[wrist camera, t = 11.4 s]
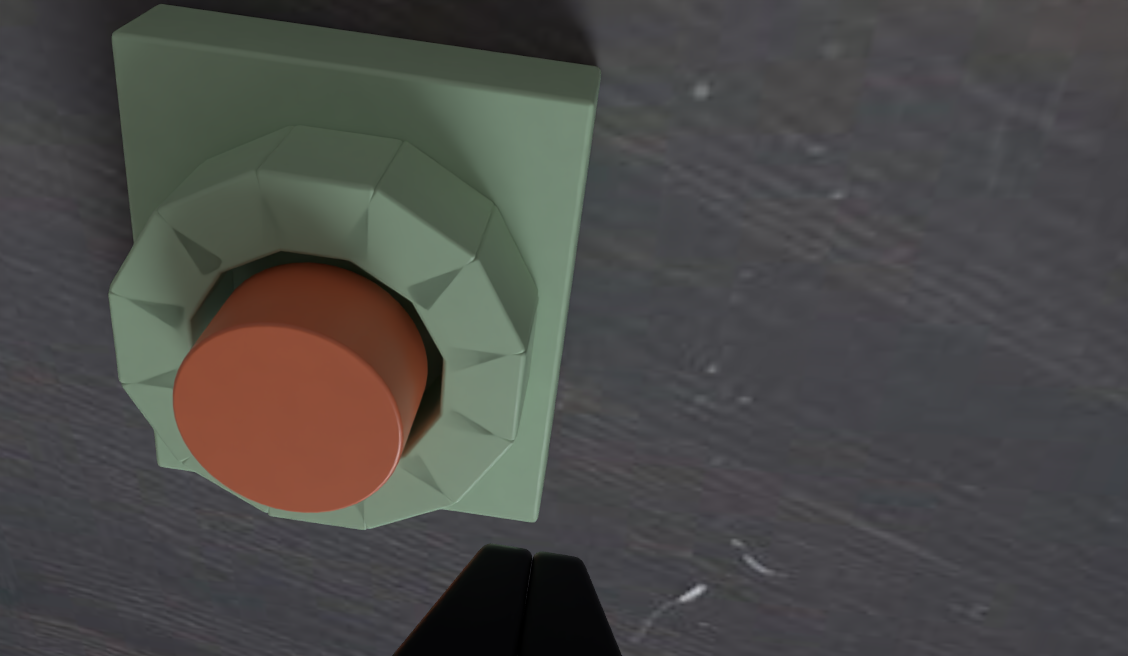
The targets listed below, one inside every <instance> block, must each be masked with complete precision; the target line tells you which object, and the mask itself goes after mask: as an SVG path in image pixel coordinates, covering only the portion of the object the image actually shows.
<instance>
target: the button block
mask: <svg viewBox="0 0 1128 656" xmlns="http://www.w3.org/2000/svg"><path fill="white" fill-rule="evenodd" d="M112 46H113V55H114V64H115V74H116V83H117V92H118V101H119V111H120V120H121V129H122V138H123V148H124V157H125V166H126V176H127V185H128V194H129V203H130V213H131V222H132V231H133V241H134V245H133V247H132V249H131V250H130V252H129V254H128V255H127V257H126V259H125V261H124V262H123V264H122V266H121V267H120V269H119V271H118V272H117V274H116V276H115V278H114V279H113V281H112V283H111V284H110V290H109V293H108V296H109V304H110V312H111V320H112V328H113V336H114V344H115V352H116V360H117V368H118V376H119V381H120V382H122V387H123V388H124V390H125V391H126V392H127V394H128V395H129V396H130V398H131V399H132V400H133V402H134V403H135V404H136V406H137V407H138V408H139V410H140V411H141V412H142V414H143V415H144V416H145V418H146V419H147V421H148V422H149V423H150V425H151V426H152V427H153V429H154V435H155V445H156V454H157V463H158V465H159V466H161V467H167V468H173V469H180V470H187V471H193V472H196V473H198V474H200V475H201V476H203V477H205V478H206V479H208V480H210V481H212V482H213V483H215V484H217V485H218V486H220V487H222V488H224V489H225V490H227V491H229V492H230V493H232V494H234V495H236V496H237V497H239V498H241V499H242V500H244V501H246V502H248V503H249V504H251V505H253V506H255V507H256V508H258V509H260V510H261V511H263V512H268V514H269V515H270V516H274V517H281V518H287V519H294V520H301V521H307V522H314V523H320V524H327V525H334V526H340V527H347V528H354V529H360V530H366V529H367V528H370V529H371V528H375V527H378V526H382V525H385V524H389V523H392V522H396V521H399V520H403V519H406V518H410V517H413V516H417V515H421V514H424V513H428V512H431V511H435V510H438V509H446V510H453V511H460V512H466V513H473V514H479V515H486V516H493V517H499V518H506V519H513V520H519V521H526V522H535V521H536V520H537V519H538V515H539V509H540V502H541V496H542V490H543V484H544V478H545V472H546V466H547V459H548V452H549V444H550V437H551V430H552V423H553V416H554V408H555V401H556V394H557V387H558V380H559V373H560V365H561V358H562V351H563V344H564V337H565V329H566V322H567V315H568V308H569V301H570V294H571V286H572V279H573V272H574V265H575V258H576V250H577V243H578V236H579V229H580V222H581V215H582V207H583V200H584V193H585V186H586V179H587V171H588V164H589V157H590V150H591V143H592V136H593V128H594V121H595V114H596V107H597V100H598V93H599V85H600V78H601V71H600V69H599V68H598V67H596V66H589V65H583V64H576V63H569V62H562V61H555V60H548V59H541V58H534V57H527V56H520V55H513V54H506V53H499V52H492V51H485V50H478V49H471V48H464V47H457V46H450V45H443V44H436V43H429V42H422V41H416V40H409V39H402V38H395V37H388V36H381V35H374V34H367V33H360V32H353V31H346V30H339V29H332V28H325V27H318V26H311V25H304V24H297V23H290V22H283V21H276V20H269V19H262V18H255V17H249V16H242V15H235V14H228V13H221V12H214V11H207V10H200V9H193V8H186V7H179V6H172V5H165V4H160V5H157V6H155V7H153V8H152V9H150V10H149V11H147V12H145V13H144V14H142V15H140V16H139V17H137V18H135V19H134V20H132V21H131V22H129V23H127V24H126V25H124V26H122V27H121V28H119V29H117V30H116V31H114V32H113V34H112ZM299 262H311V263H323V264H327V265H332V266H337V267H340V268H343V269H346V270H349V271H352V272H354V273H356V274H359V275H361V276H363V277H365V278H367V279H369V280H370V281H372V282H374V283H375V284H377V285H378V286H380V287H381V288H382V289H384V290H385V291H386V292H388V293H389V294H390V295H391V296H392V297H393V298H394V299H395V300H397V301H398V302H399V303H400V305H401V306H402V307H403V308H404V309H405V311H406V312H407V313H408V314H409V316H410V317H411V319H412V320H413V322H414V323H415V325H416V327H417V329H418V331H419V333H420V335H421V338H422V341H423V344H424V347H425V351H426V356H427V367H428V374H427V381H426V386H425V390H424V393H423V396H422V399H421V402H420V404H419V407H418V410H417V413H416V416H415V418H414V421H413V424H412V427H411V430H410V432H409V435H408V438H407V441H406V444H405V447H404V449H403V452H402V455H401V458H400V461H399V463H398V465H397V467H396V469H395V471H394V473H393V474H392V475H391V477H390V478H389V479H388V481H387V482H386V483H385V484H384V485H383V486H382V487H381V488H380V489H379V490H378V491H376V492H375V493H373V494H372V495H371V496H369V497H368V498H366V499H364V500H362V501H361V502H359V503H357V504H354V505H352V506H349V507H346V508H343V509H339V510H334V511H329V512H319V513H301V512H291V511H285V510H280V509H275V508H272V507H269V506H265V505H262V504H259V503H257V502H254V501H252V500H249V499H247V498H245V497H243V496H241V495H239V494H238V493H236V492H234V491H232V490H231V489H229V488H228V487H226V486H225V485H223V484H222V483H220V482H219V481H218V480H217V479H215V478H214V477H213V476H212V475H211V474H209V473H208V472H207V471H206V470H205V469H204V468H203V467H202V466H201V465H200V463H199V462H198V461H197V460H196V459H195V457H194V456H193V455H192V454H191V452H190V450H189V449H188V447H187V446H186V444H185V443H184V441H183V438H182V436H181V434H180V432H179V430H178V427H177V424H176V421H175V416H174V411H173V386H174V380H175V377H176V374H177V371H178V368H179V367H180V365H181V363H182V361H183V359H184V358H185V356H186V355H187V353H188V352H189V351H190V349H191V348H192V347H193V345H194V344H195V343H196V341H197V340H198V338H199V337H200V336H201V334H202V333H203V332H204V330H205V329H206V328H207V326H208V325H209V323H210V322H211V321H212V319H213V318H214V317H215V315H216V314H217V312H218V311H219V310H220V308H221V307H222V306H223V304H224V303H225V302H226V300H227V299H228V298H229V296H230V295H231V294H232V293H233V291H234V290H235V289H236V288H237V287H238V286H239V285H240V284H241V283H243V282H244V281H245V280H246V279H248V278H250V277H251V276H253V275H254V274H256V273H258V272H261V271H263V270H265V269H268V268H271V267H274V266H278V265H282V264H289V263H299Z"/></svg>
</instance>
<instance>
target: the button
mask: <svg viewBox="0 0 1128 656" xmlns="http://www.w3.org/2000/svg"><path fill="white" fill-rule="evenodd" d="M427 374H428V367H427V356H426V351H425V347H424V344H423V341H422V338H421V335H420V333H419V331H418V329H417V327H416V325H415V323H414V322H413V320H412V319H411V317H410V316H409V314H408V313H407V312H406V311H405V309H404V308H403V307H402V306H401V305H400V303H399V302H398V301H397V300H395V299H394V298H393V297H392V296H391V295H390V294H389V293H388V292H386V291H385V290H384V289H382V288H381V287H380V286H378V285H377V284H375V283H374V282H372V281H370V280H369V279H367V278H365V277H363V276H361V275H359V274H356V273H354V272H352V271H349V270H346V269H343V268H340V267H337V266H332V265H327V264H323V263H311V262H299V263H289V264H282V265H278V266H274V267H271V268H268V269H265V270H263V271H261V272H258V273H256V274H254V275H253V276H251V277H250V278H248V279H246V280H245V281H244V282H243V283H241V284H240V285H239V286H238V287H237V288H236V289H235V290H234V291H233V293H232V294H231V295H230V296H229V298H228V299H227V300H226V302H225V303H224V304H223V306H222V307H221V308H220V310H219V311H218V312H217V314H216V315H215V317H214V318H213V319H212V321H211V322H210V323H209V325H208V326H207V328H206V329H205V330H204V332H203V333H202V334H201V336H200V337H199V338H198V340H197V341H196V343H195V344H194V345H193V347H192V348H191V349H190V351H189V352H188V353H187V355H186V356H185V358H184V359H183V361H182V363H181V365H180V367H179V368H178V371H177V374H176V377H175V380H174V386H173V411H174V416H175V421H176V424H177V427H178V430H179V432H180V434H181V436H182V438H183V441H184V443H185V444H186V446H187V447H188V449H189V450H190V452H191V454H192V455H193V456H194V457H195V459H196V460H197V461H198V462H199V463H200V465H201V466H202V467H203V468H204V469H205V470H206V471H207V472H208V473H209V474H211V475H212V476H213V477H214V478H215V479H217V480H218V481H219V482H220V483H222V484H223V485H225V486H226V487H228V488H229V489H231V490H232V491H234V492H236V493H238V494H239V495H241V496H243V497H245V498H247V499H249V500H252V501H254V502H257V503H259V504H262V505H265V506H269V507H272V508H275V509H280V510H285V511H291V512H301V513H319V512H329V511H334V510H339V509H343V508H346V507H349V506H352V505H354V504H357V503H359V502H361V501H362V500H364V499H366V498H368V497H369V496H371V495H372V494H373V493H375V492H376V491H378V490H379V489H380V488H381V487H382V486H383V485H384V484H385V483H386V482H387V481H388V479H389V478H390V477H391V475H392V474H393V473H394V471H395V469H396V467H397V465H398V463H399V461H400V458H401V455H402V452H403V449H404V447H405V444H406V441H407V438H408V435H409V432H410V430H411V427H412V424H413V421H414V418H415V416H416V413H417V410H418V407H419V404H420V402H421V399H422V396H423V393H424V390H425V386H426V381H427Z"/></svg>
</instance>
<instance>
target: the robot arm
mask: <svg viewBox="0 0 1128 656" xmlns="http://www.w3.org/2000/svg"><path fill="white" fill-rule="evenodd" d="M531 563H532V566H531ZM530 569H531V572H530ZM529 576H530V579H529ZM528 583H529V585H528ZM527 589H528V591H527ZM526 596H527V597H526ZM525 602H526V604H525ZM524 609H525V610H524ZM522 622H523V623H522ZM392 656H622V655H621V652H620V650H619V647H618V645H617V643H616V640H615V638H614V635H613V633H612V630H611V628H610V625H609V623H608V621H607V618H606V616H605V613H604V611H603V608H602V606H601V603H600V601H599V598H598V596H597V594H596V591H595V589H594V586H593V584H592V581H591V579H590V576H589V574H588V572H587V569H586V567H585V565H584V563H583V562H582V560H580V559H579V558H578V557H574V556H568V555H561V554H555V553H549V552H538V553H536V554H535V555H534V557H533V560H532V555H531V553H530V552H529V551H528V550H527V549H523V548H517V547H510V546H504V545H497V544H487V545H485V546H483V547H482V548H481V549H480V550H479V551H478V552H477V554H476V555H475V556H474V557H473V559H472V560H471V561H470V562H469V563H468V565H467V566H466V567H465V568H464V569H463V571H462V572H461V573H460V574H459V575H458V577H457V578H456V579H455V580H454V582H453V583H452V584H451V585H450V586H449V588H448V589H447V590H446V591H445V592H444V594H443V595H442V596H441V597H440V599H439V600H438V601H437V602H436V603H435V605H434V606H433V607H432V608H431V609H430V611H429V612H428V613H427V614H426V615H425V617H424V618H423V619H422V620H421V622H420V623H419V624H418V625H417V626H416V628H415V629H414V630H413V631H412V632H411V634H410V635H409V636H408V637H407V638H406V640H405V641H404V642H403V643H402V645H401V646H400V647H399V648H398V649H397V651H396V652H395V653H394V654H393V655H392Z"/></svg>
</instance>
